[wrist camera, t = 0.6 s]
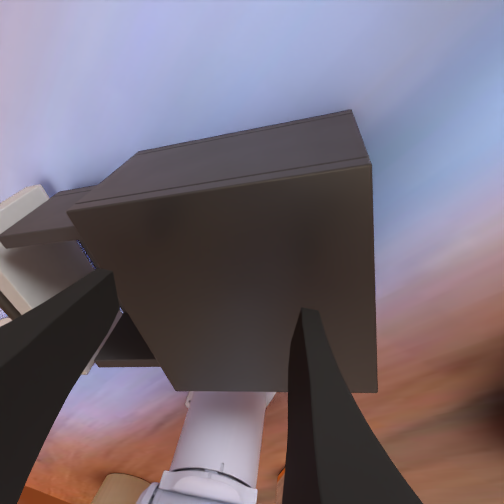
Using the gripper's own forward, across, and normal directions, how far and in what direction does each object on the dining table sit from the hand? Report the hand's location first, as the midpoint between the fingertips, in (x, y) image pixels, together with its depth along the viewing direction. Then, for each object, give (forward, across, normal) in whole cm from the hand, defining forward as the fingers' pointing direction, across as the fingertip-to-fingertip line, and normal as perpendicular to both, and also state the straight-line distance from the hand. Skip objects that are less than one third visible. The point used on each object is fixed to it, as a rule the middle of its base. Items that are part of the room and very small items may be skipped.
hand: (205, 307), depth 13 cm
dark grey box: (+10, -1, +3) cm, 10 cm away
